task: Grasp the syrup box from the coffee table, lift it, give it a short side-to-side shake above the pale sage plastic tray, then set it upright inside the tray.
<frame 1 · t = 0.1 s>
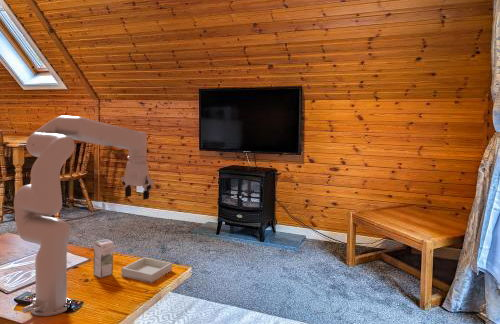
hand: (136, 197, 172), 31 cm above the table, tool pointing down, fingers open, 9 cm apart
syrup box: (103, 275, 163), on the table
tray: (147, 273, 167), on the table
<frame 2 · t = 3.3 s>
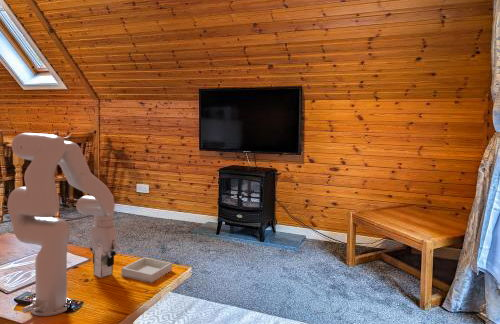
hand: (103, 263, 163), 5 cm above the table, tool pointing down, fingers closed on syrup box, 7 cm apart
syrup box: (103, 275, 163), on the table, touching gripper
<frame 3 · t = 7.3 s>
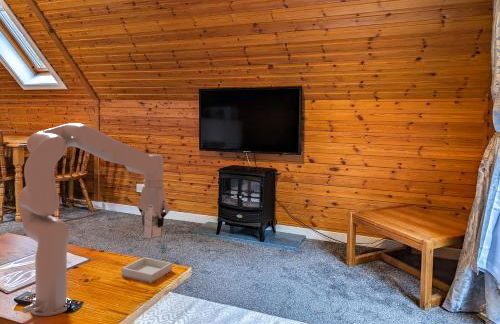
hand: (152, 225, 164), 22 cm above the table, tool pointing down, fingers closed on syrup box, 7 cm apart
syrup box: (152, 236, 164), point 17 cm above the table, touching gripper
when the fingers open (7 cm above the table, at t = 11.4 s): syrup box drops 1 cm, resting on tray.
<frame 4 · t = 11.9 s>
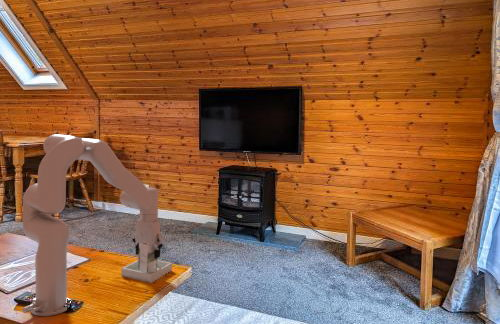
hand: (147, 255, 166), 8 cm above the table, tool pointing down, fingers open, 9 cm apart
syrup box: (147, 272, 167), point 1 cm above the table, touching tray
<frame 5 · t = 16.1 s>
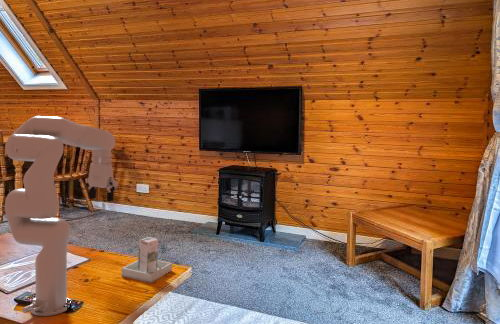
hand: (101, 199, 168), 30 cm above the table, tool pointing down, fingers open, 9 cm apart
nothing on the table moved.
at the end: syrup box inside the target area on the tray (0.4 cm from its centre), point 0.6 cm above the tray's base; syrup box tilted 0°; the gripper is holding nothing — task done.
